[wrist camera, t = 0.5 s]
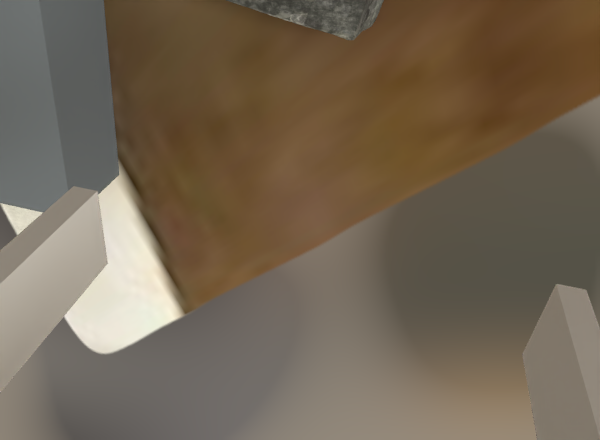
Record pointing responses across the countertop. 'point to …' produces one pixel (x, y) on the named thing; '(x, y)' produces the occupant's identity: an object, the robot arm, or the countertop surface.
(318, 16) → the stone block
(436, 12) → the countertop surface
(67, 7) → the block
